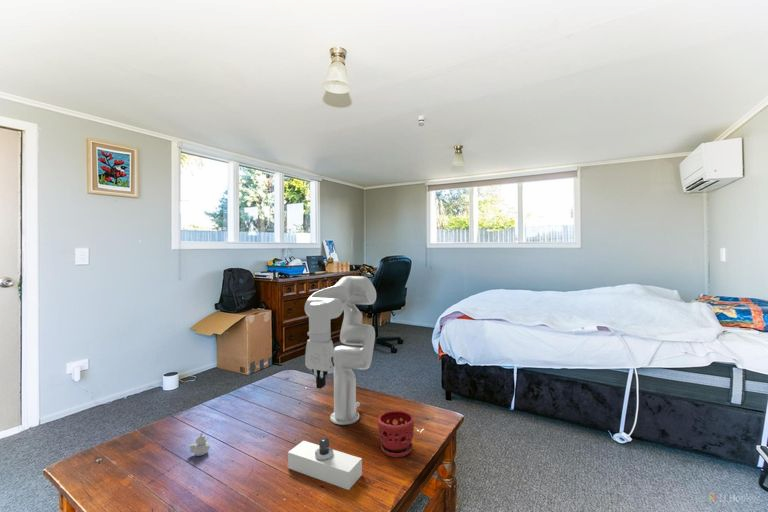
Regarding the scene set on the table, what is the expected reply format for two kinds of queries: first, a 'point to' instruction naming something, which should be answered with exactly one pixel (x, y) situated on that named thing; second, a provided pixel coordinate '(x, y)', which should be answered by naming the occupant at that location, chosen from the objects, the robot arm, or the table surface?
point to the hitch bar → (325, 465)
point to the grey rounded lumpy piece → (200, 446)
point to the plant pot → (396, 433)
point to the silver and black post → (324, 450)
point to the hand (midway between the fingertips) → (320, 386)
